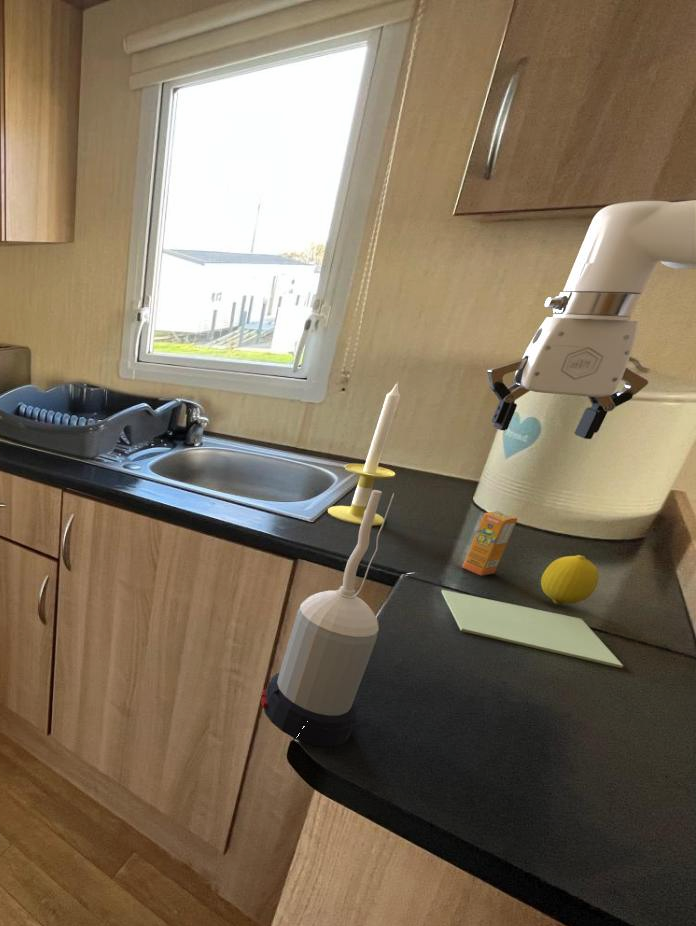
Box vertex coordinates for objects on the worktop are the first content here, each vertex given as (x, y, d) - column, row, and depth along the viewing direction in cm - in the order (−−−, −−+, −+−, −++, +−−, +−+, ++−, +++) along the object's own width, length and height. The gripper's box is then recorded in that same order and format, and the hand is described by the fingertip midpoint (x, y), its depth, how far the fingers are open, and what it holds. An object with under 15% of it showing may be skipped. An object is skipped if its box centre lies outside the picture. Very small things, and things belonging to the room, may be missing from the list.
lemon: (566, 598, 83) (591, 550, 80) (592, 617, 78) (619, 567, 75) (523, 591, 84) (546, 544, 81) (546, 610, 79) (570, 561, 76)
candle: (395, 521, 110) (442, 384, 99) (365, 528, 105) (411, 386, 95) (346, 504, 118) (385, 376, 107) (316, 511, 114) (354, 378, 103)
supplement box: (459, 567, 91) (482, 511, 87) (473, 565, 92) (497, 510, 88) (480, 576, 88) (505, 519, 84) (495, 574, 89) (520, 517, 85)
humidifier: (245, 695, 60) (304, 478, 50) (309, 686, 62) (378, 474, 52) (299, 752, 53) (381, 511, 43) (369, 740, 54) (463, 506, 45)
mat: (580, 621, 77) (581, 618, 77) (622, 668, 67) (623, 665, 67) (441, 591, 83) (442, 589, 83) (460, 631, 73) (461, 628, 73)
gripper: (526, 305, 74) (477, 430, 80) (701, 311, 68) (632, 446, 74) (503, 304, 80) (460, 420, 87) (662, 310, 74) (602, 434, 81)
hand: (540, 432), depth 81 cm, fingers open, 9 cm apart
